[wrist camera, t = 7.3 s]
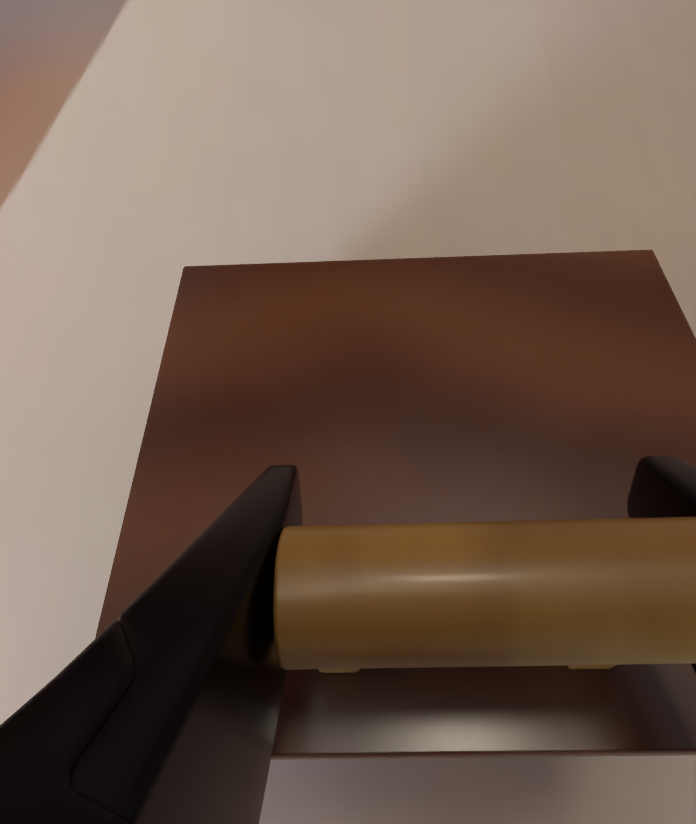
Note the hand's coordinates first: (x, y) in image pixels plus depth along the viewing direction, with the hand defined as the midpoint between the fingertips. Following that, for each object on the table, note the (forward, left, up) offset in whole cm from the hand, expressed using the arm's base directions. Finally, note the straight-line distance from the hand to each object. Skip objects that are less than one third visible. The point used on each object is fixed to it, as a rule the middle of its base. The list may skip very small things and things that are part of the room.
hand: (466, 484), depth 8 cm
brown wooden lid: (+1, -1, -3) cm, 4 cm away
